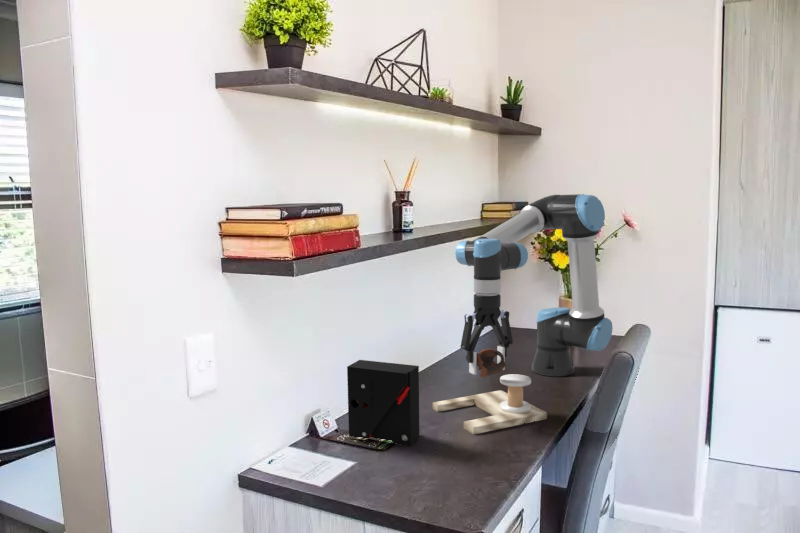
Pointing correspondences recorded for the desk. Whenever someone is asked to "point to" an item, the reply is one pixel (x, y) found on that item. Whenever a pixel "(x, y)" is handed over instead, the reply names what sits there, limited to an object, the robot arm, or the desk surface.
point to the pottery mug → (489, 362)
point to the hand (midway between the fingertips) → (487, 371)
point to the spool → (515, 393)
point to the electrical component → (383, 401)
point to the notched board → (492, 406)
